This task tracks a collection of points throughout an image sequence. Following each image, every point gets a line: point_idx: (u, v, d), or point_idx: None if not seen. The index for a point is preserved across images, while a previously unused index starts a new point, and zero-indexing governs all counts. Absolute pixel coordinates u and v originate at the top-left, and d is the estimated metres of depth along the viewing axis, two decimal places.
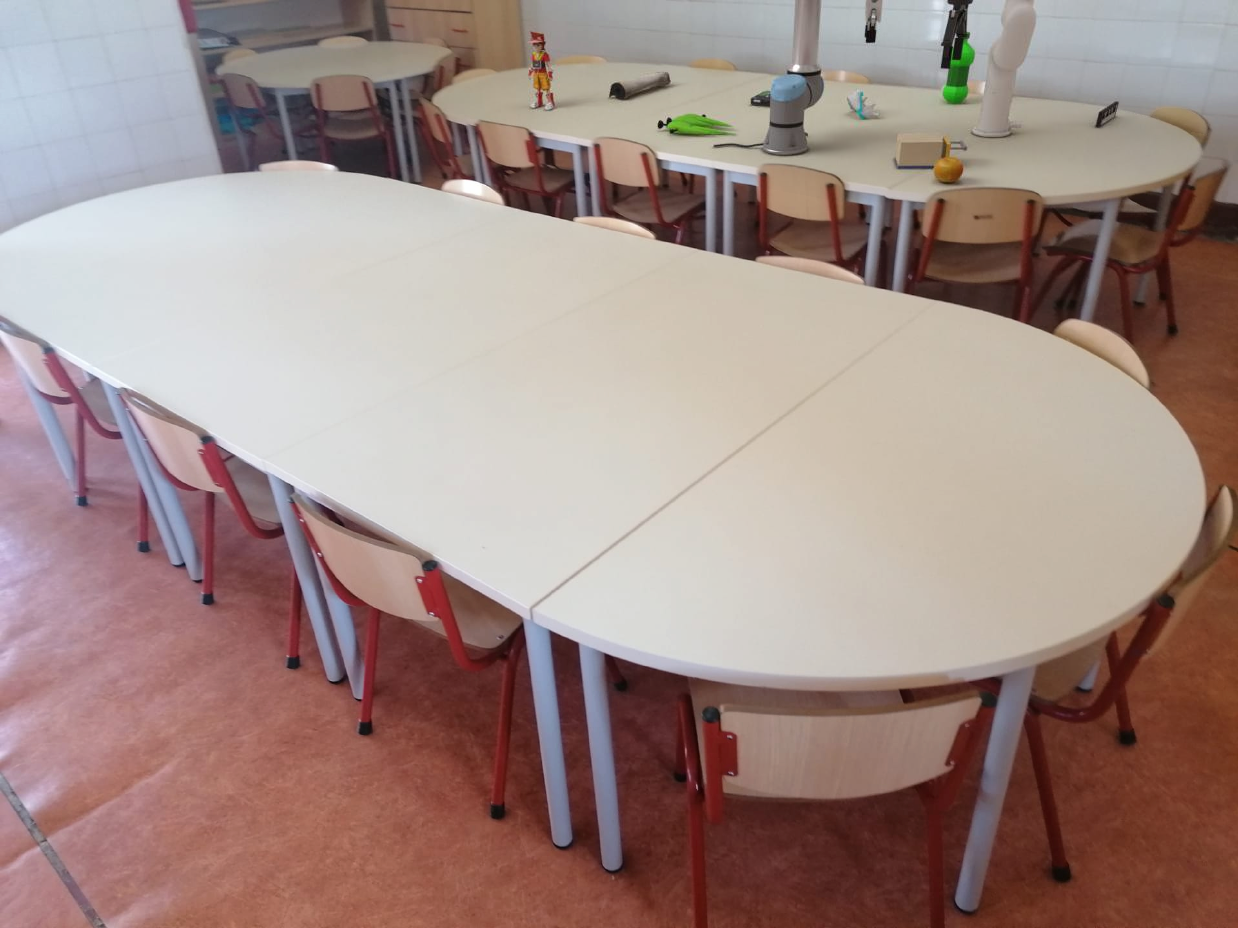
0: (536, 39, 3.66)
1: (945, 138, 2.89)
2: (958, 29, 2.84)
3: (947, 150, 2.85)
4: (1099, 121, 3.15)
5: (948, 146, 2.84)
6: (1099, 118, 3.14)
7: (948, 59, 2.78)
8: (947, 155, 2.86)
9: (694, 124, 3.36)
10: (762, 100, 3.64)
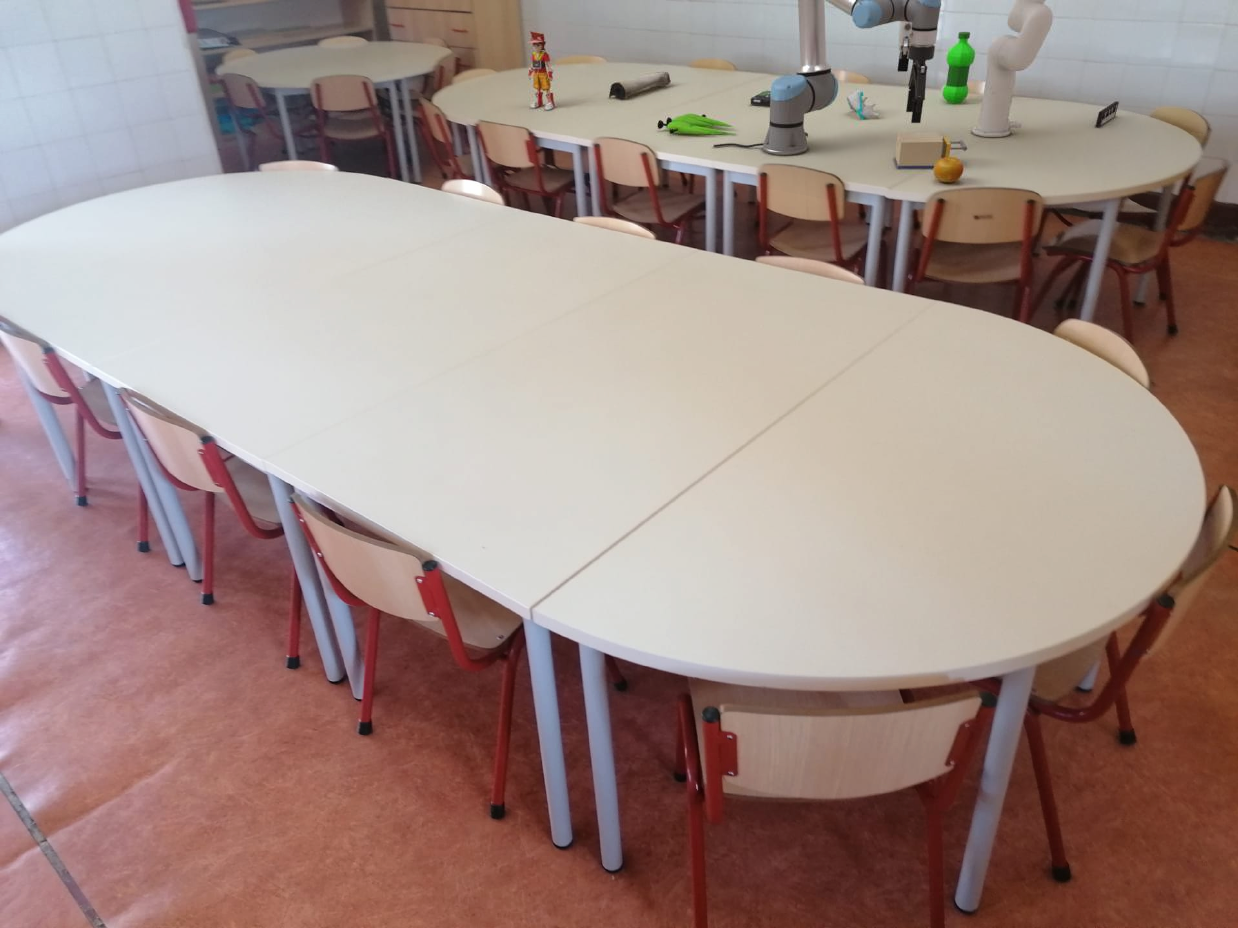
0: (536, 39, 3.66)
1: (945, 138, 2.89)
2: None
3: (947, 150, 2.85)
4: (1099, 121, 3.15)
5: (948, 146, 2.84)
6: (1099, 118, 3.14)
7: None
8: (947, 155, 2.86)
9: (694, 124, 3.36)
10: (762, 100, 3.64)
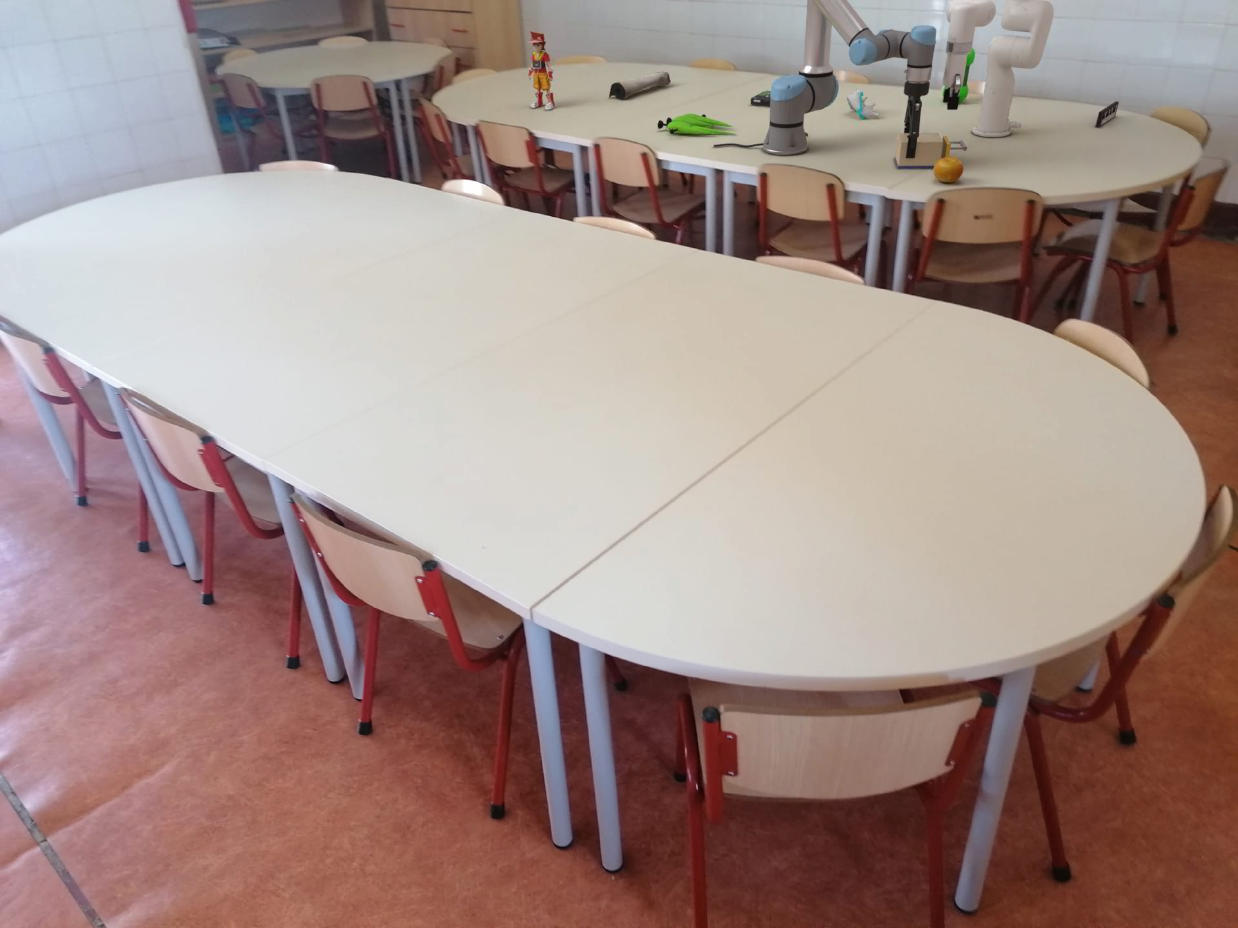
0: (536, 39, 3.66)
1: (945, 138, 2.89)
2: None
3: (947, 150, 2.85)
4: (1099, 121, 3.15)
5: (948, 146, 2.84)
6: (1099, 118, 3.14)
7: None
8: (947, 155, 2.86)
9: (694, 124, 3.36)
10: (762, 100, 3.64)
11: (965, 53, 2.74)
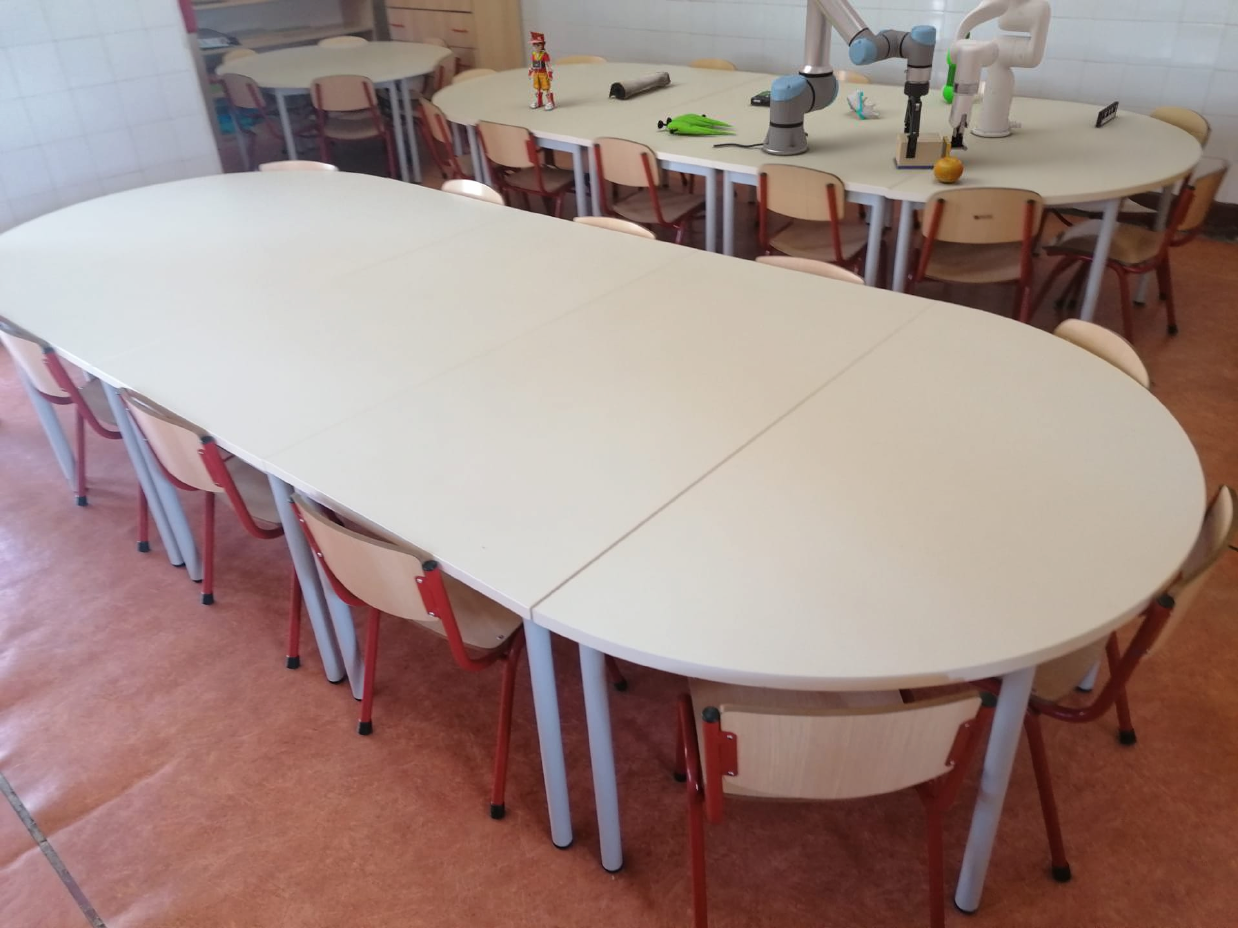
0: (536, 39, 3.66)
1: (945, 138, 2.89)
2: None
3: (947, 150, 2.85)
4: (1099, 121, 3.15)
5: (948, 146, 2.84)
6: (1099, 118, 3.14)
7: None
8: (947, 155, 2.86)
9: (694, 124, 3.36)
10: (762, 100, 3.64)
11: (972, 94, 2.76)
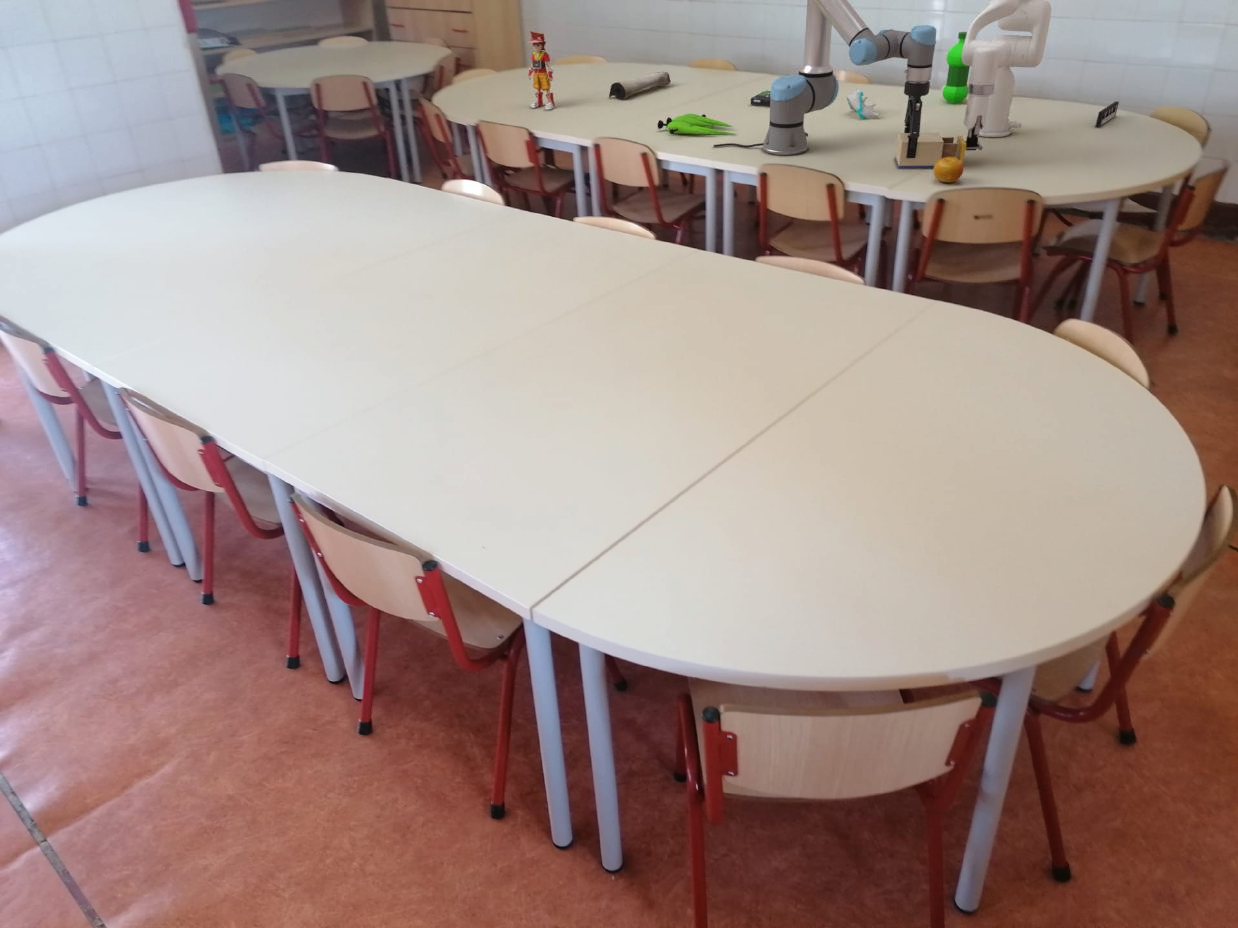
0: (536, 39, 3.66)
1: (960, 138, 2.89)
2: None
3: (962, 150, 2.85)
4: (1099, 121, 3.15)
5: (963, 146, 2.84)
6: (1099, 118, 3.14)
7: None
8: (962, 155, 2.85)
9: (694, 124, 3.36)
10: (762, 100, 3.64)
11: (987, 95, 2.76)
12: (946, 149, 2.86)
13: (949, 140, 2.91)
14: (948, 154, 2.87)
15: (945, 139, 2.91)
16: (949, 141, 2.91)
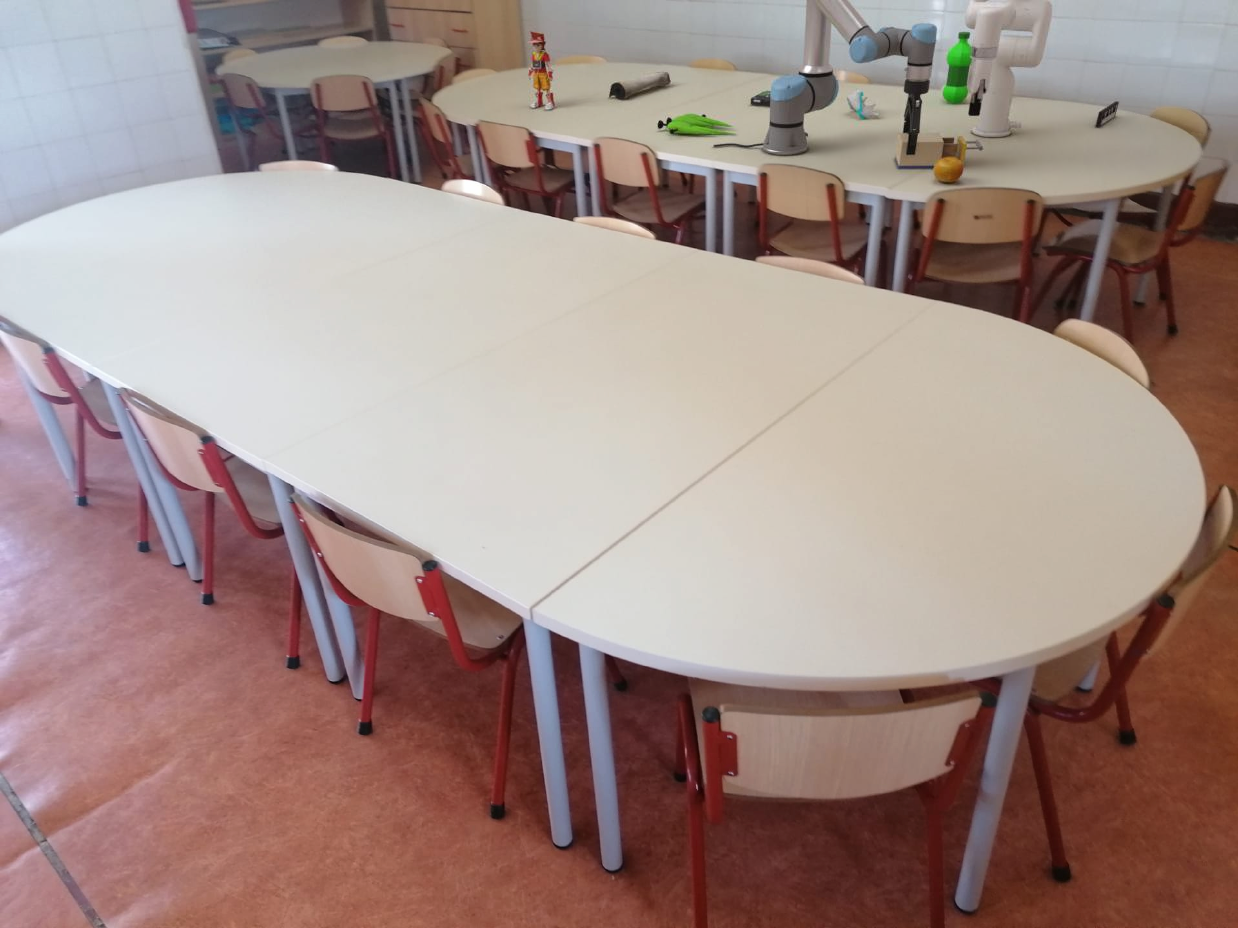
0: (536, 39, 3.66)
1: (961, 138, 2.89)
2: None
3: (963, 150, 2.85)
4: (1099, 121, 3.15)
5: (964, 146, 2.84)
6: (1099, 118, 3.14)
7: None
8: (963, 155, 2.85)
9: (694, 124, 3.36)
10: (762, 100, 3.64)
11: (991, 58, 2.70)
12: (946, 149, 2.86)
13: (950, 140, 2.91)
14: (948, 154, 2.87)
15: (945, 139, 2.91)
16: (949, 141, 2.91)
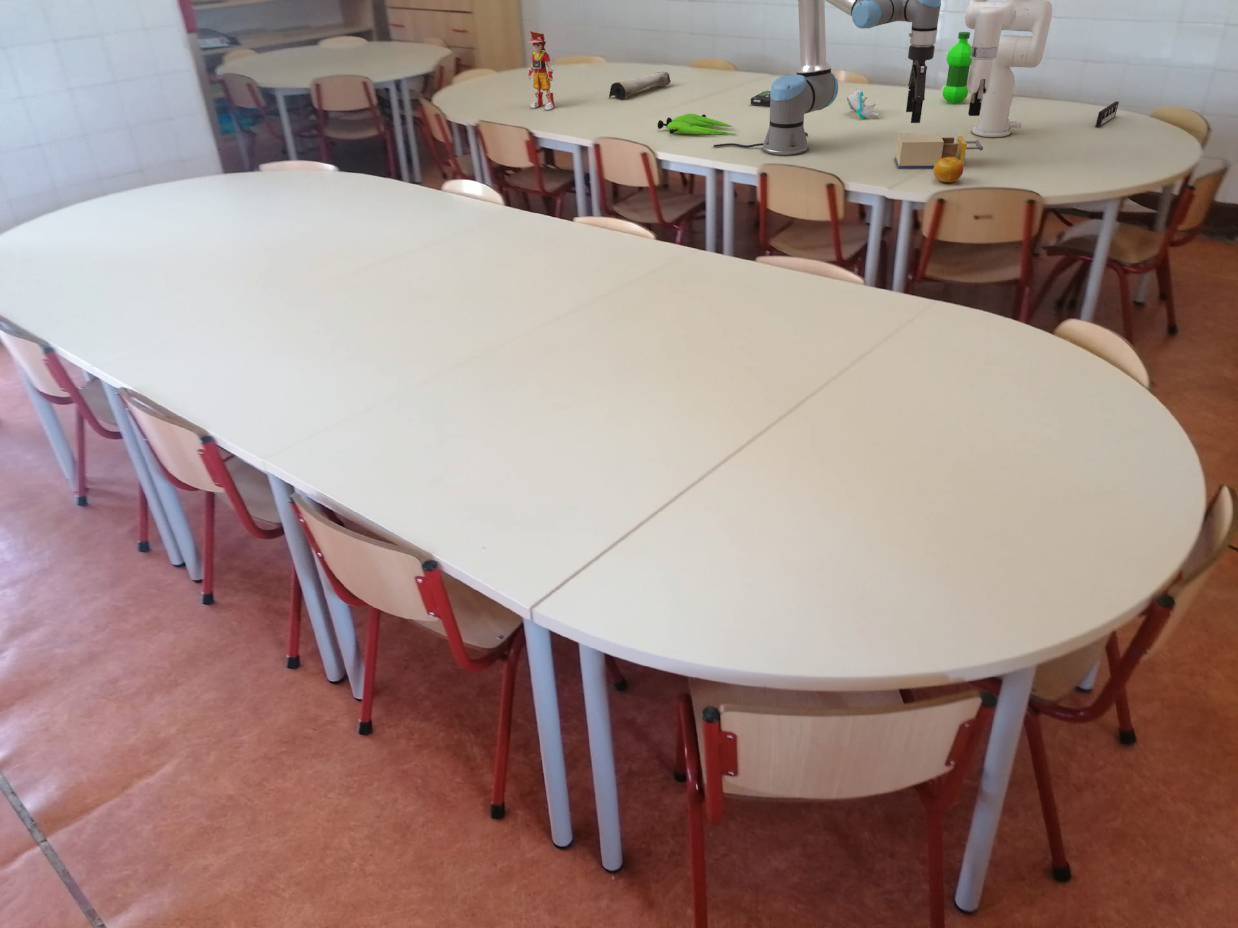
0: (536, 39, 3.66)
1: (961, 138, 2.89)
2: None
3: (963, 150, 2.85)
4: (1099, 121, 3.15)
5: (964, 146, 2.84)
6: (1099, 118, 3.14)
7: None
8: (963, 155, 2.85)
9: (694, 124, 3.36)
10: (762, 100, 3.64)
11: (991, 58, 2.70)
12: (946, 149, 2.86)
13: (950, 140, 2.91)
14: (948, 154, 2.87)
15: (945, 139, 2.91)
16: (949, 141, 2.91)
